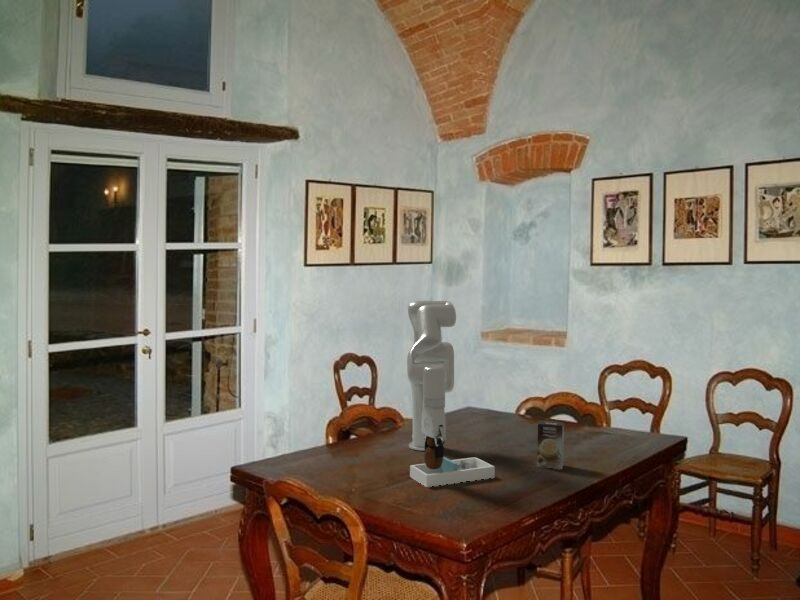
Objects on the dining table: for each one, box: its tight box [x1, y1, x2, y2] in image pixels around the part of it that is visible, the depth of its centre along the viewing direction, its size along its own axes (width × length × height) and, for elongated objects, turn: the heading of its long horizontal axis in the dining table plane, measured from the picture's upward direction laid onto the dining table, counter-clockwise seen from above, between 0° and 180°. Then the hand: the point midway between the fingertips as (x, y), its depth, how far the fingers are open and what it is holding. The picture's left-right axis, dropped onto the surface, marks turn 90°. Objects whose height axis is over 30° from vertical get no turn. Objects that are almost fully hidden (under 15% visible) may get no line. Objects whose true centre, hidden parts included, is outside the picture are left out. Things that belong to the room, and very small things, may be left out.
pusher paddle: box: [440, 456, 469, 472], centre depth 242 cm, size 10×7×5 cm
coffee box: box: [536, 419, 565, 470], centre depth 255 cm, size 9×6×16 cm
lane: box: [409, 456, 496, 488], centre depth 242 cm, size 13×26×4 cm, turn 114°
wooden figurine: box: [423, 435, 443, 469], centre depth 238 cm, size 7×6×15 cm
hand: (434, 454), depth 239 cm, fingers closed on wooden figurine, 6 cm apart
